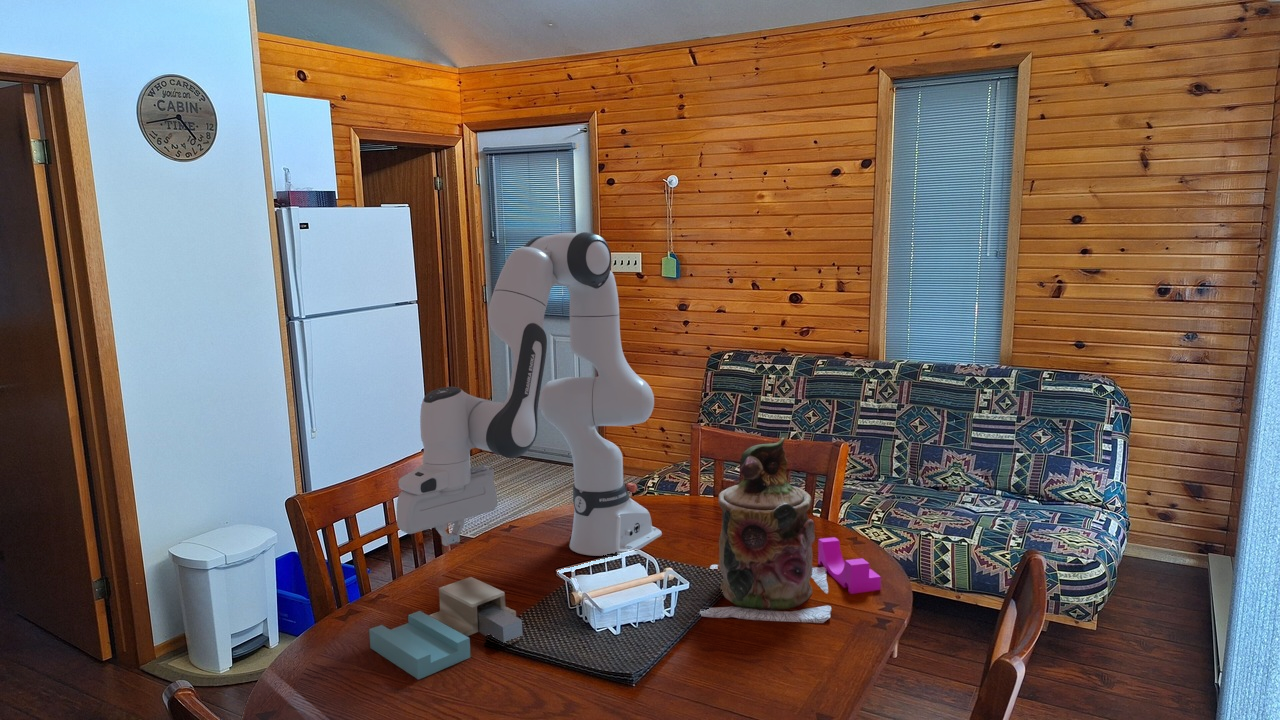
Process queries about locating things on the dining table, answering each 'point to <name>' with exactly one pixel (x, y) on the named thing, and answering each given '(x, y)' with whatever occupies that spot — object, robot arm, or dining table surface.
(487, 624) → the gray rectangular bar
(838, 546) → the toy block
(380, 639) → the teal grooved block
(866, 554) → the dining table surface
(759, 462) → the cookie jar
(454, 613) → the bracket
